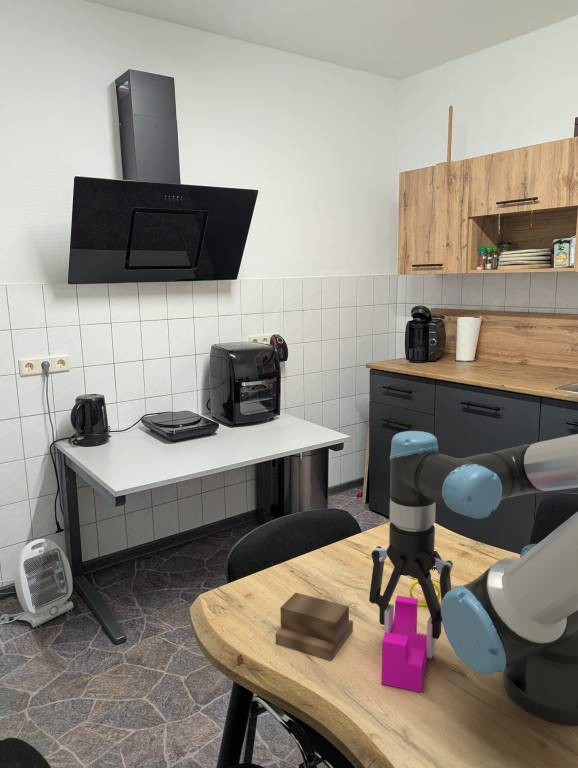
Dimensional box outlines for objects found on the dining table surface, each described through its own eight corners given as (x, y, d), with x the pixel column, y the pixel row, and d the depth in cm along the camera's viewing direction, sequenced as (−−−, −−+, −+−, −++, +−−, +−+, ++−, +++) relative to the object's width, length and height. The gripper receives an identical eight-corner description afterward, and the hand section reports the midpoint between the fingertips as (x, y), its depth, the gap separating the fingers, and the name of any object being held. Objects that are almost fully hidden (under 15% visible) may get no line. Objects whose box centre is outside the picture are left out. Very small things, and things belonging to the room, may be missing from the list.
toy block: (420, 692, 93) (421, 648, 92) (381, 683, 95) (382, 641, 94) (430, 639, 107) (431, 601, 105) (396, 632, 109) (397, 595, 108)
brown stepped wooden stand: (352, 630, 110) (352, 601, 109) (331, 660, 101) (331, 628, 100) (300, 616, 115) (300, 587, 114) (275, 643, 106) (275, 613, 105)
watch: (438, 603, 119) (441, 576, 118) (439, 611, 116) (442, 583, 115) (408, 599, 120) (411, 572, 119) (408, 606, 118) (411, 579, 116)
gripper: (476, 525, 97) (471, 651, 101) (364, 506, 107) (363, 622, 110) (467, 542, 91) (462, 676, 95) (349, 520, 100) (348, 643, 104)
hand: (409, 647), depth 102 cm, fingers closed on toy block, 7 cm apart
